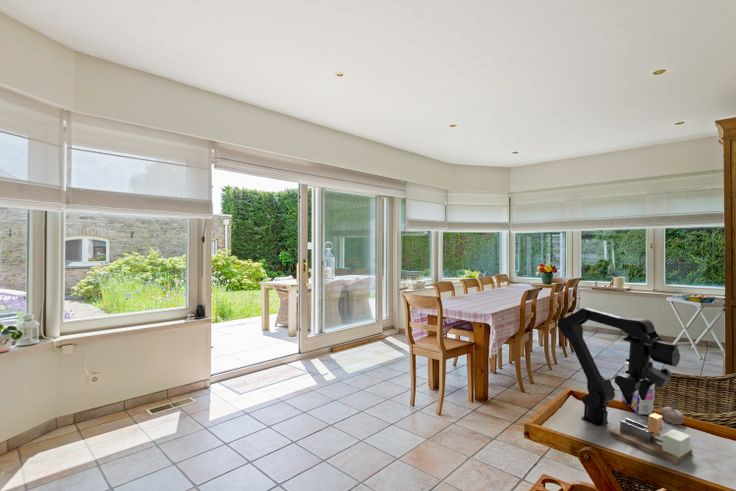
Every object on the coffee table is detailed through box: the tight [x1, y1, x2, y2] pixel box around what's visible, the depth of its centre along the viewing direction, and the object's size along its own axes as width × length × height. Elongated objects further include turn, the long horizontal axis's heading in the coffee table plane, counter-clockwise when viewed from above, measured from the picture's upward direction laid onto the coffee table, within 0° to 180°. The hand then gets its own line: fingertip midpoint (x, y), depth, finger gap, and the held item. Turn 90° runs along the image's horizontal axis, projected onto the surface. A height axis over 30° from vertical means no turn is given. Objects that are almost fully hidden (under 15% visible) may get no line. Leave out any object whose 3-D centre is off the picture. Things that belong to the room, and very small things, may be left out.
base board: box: [608, 425, 693, 465], centre depth 127 cm, size 19×12×2 cm, turn 31°
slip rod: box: [643, 412, 664, 443], centre depth 124 cm, size 10×4×8 cm, turn 31°
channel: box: [619, 417, 654, 442], centre depth 130 cm, size 9×4×3 cm, turn 31°
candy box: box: [621, 361, 656, 417], centre depth 154 cm, size 14×6×16 cm, turn 168°
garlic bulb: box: [661, 399, 685, 425], centre depth 144 cm, size 8×7×8 cm
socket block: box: [662, 428, 691, 457], centre depth 121 cm, size 4×7×5 cm, turn 121°
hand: (636, 402), depth 131 cm, fingers open, 9 cm apart
